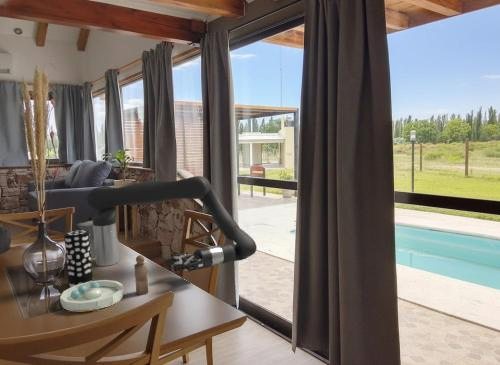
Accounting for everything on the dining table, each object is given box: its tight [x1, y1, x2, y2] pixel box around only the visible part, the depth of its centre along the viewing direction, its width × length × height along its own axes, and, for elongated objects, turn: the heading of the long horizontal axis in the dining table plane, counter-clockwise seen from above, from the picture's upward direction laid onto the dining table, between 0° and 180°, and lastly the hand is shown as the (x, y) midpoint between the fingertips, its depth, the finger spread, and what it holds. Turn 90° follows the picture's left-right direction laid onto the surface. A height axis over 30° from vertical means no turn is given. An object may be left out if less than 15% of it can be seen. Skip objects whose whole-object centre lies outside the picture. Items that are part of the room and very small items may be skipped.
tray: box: [59, 279, 124, 311], centre depth 131 cm, size 19×19×4 cm
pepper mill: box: [134, 254, 149, 296], centre depth 136 cm, size 4×4×13 cm
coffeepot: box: [76, 216, 96, 259], centre depth 182 cm, size 15×9×18 cm, turn 87°
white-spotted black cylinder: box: [63, 229, 94, 289], centre depth 144 cm, size 8×8×20 cm
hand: (168, 265), depth 141 cm, fingers open, 8 cm apart
